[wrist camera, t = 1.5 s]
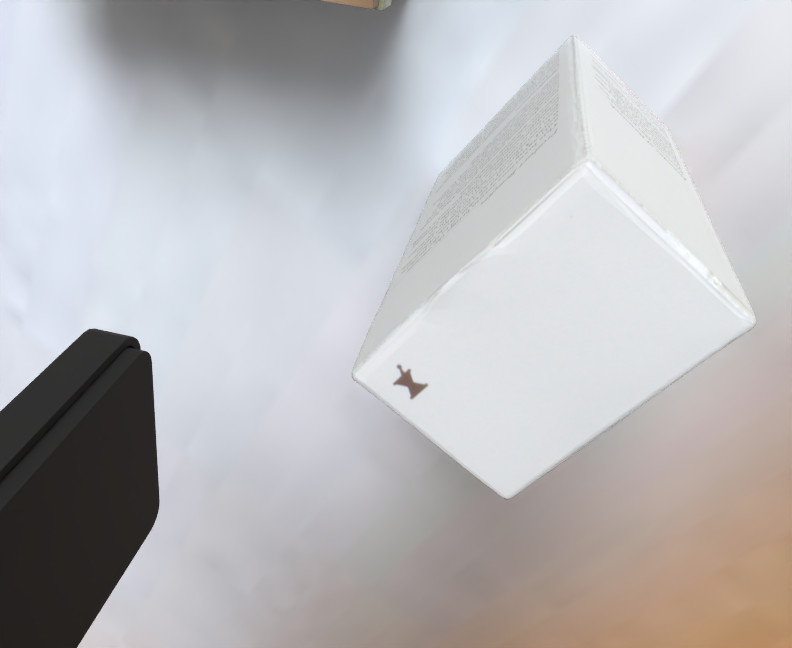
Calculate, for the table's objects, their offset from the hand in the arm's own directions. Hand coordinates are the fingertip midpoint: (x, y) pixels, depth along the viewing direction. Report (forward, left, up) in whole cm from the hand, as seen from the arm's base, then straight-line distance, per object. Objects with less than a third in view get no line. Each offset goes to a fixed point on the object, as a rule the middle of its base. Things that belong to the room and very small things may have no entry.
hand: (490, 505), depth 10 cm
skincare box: (0, 0, -16) cm, 16 cm away
